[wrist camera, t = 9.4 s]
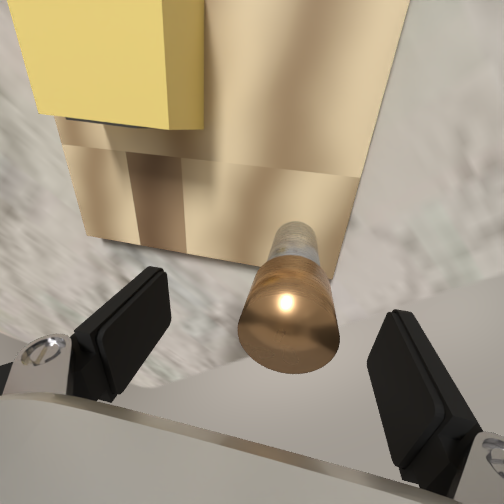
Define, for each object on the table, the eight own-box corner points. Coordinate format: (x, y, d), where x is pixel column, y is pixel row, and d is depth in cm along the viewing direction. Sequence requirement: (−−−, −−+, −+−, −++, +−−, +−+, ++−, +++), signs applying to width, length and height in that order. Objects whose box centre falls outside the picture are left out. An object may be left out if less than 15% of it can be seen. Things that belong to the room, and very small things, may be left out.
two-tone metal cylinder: (322, 216, 15) (343, 297, 7) (320, 264, 17) (335, 379, 8) (268, 216, 16) (233, 291, 8) (270, 263, 17) (241, 368, 9)
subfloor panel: (414, -40, 10) (425, -58, 9) (331, 270, 18) (332, 279, 17) (33, -30, 14) (10, -43, 13) (98, 230, 21) (86, 235, 20)
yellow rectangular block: (204, -11, 12) (157, -71, 8) (203, 132, 14) (169, 133, 11) (77, -15, 13) (-13, -70, 9) (101, 119, 15) (39, 117, 12)
